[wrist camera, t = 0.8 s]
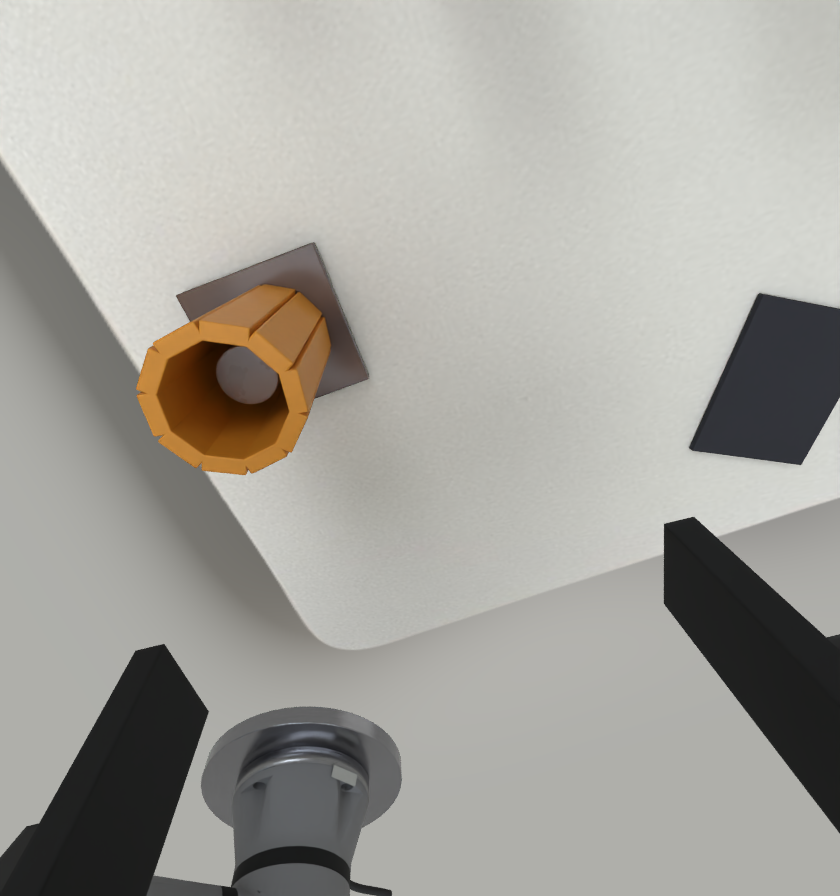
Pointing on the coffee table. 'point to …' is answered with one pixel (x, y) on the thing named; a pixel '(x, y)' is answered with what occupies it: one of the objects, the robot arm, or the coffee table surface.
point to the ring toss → (305, 274)
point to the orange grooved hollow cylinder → (208, 407)
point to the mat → (775, 383)
